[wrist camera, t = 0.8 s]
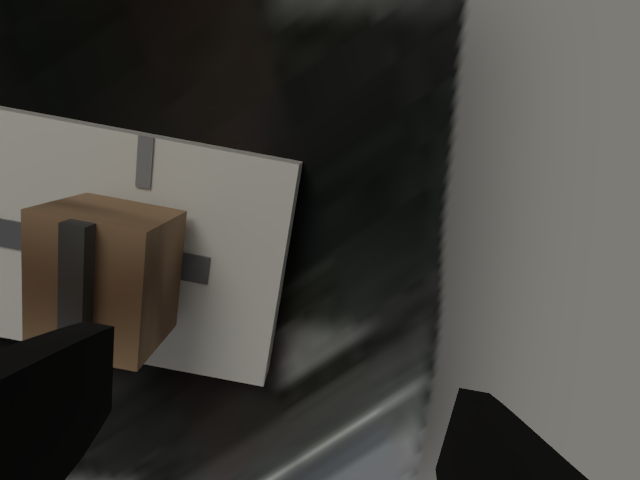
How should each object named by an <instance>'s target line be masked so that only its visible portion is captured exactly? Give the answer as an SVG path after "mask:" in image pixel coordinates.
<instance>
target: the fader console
mask: <svg viewBox="0 0 640 480" xmlns="http://www.w3.org/2000/svg"><path fill="white" fill-rule="evenodd" d="M302 164H303V162H302V161H296V160H291V159H286V158H280V157H275V156H269V155H264V154H258V153H253V152H248V151H242V150H237V149H231V148H226V147H220V146H215V145H210V144H204V143H199V142H193V141H188V140H182V139H177V138H172V137H166V136H161V135H155V134H150V133H144V132H139V131H134V130H128V129H123V128H117V127H112V126H107V125H101V124H96V123H90V122H85V121H79V120H74V119H69V118H63V117H58V116H52V115H47V114H41V113H36V112H31V111H25V110H20V109H14V108H9V107H3V106H0V337H3V338H8V339H13V340H18V341H23V338H22V267H21V209H23V208H27V207H31V206H35V205H39V204H43V203H47V202H51V201H55V200H59V199H63V198H67V197H71V196H75V195H79V194H83V193H93V194H98V195H103V196H109V197H114V198H120V199H125V200H130V201H136V202H141V203H147V204H152V205H157V206H163V207H168V208H173V209H179V210H184V211H187V217H186V228H185V238H184V249H183V260H182V270H181V281H180V292H179V302H178V313H177V324H176V326H175V328H174V329H173V330H172V331H171V332H170V334H169V335H168V336H167V337H166V338H165V339H164V341H163V342H162V343H161V344H160V345H159V347H158V348H157V349H156V350H155V351H154V352H153V354H152V355H151V356H150V357H149V358H148V360H147V361H146V362H145V363H144V364H146V365H151V366H156V367H161V368H167V369H172V370H177V371H183V372H188V373H193V374H199V375H204V376H209V377H214V378H220V379H225V380H230V381H236V382H241V383H246V384H252V385H257V386H262V387H263V386H264V383H265V380H266V377H267V373H268V370H269V366H270V360H271V354H272V348H273V341H274V335H275V329H276V323H277V317H278V311H279V305H280V299H281V293H282V286H283V280H284V274H285V268H286V262H287V256H288V250H289V244H290V238H291V231H292V225H293V219H294V213H295V207H296V201H297V195H298V189H299V183H300V177H301V170H302Z"/></svg>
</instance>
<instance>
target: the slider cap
mask: <svg viewBox="0 0 640 480" xmlns="http://www.w3.org/2000/svg"><path fill="white" fill-rule="evenodd" d="M186 217H187V211H184V210H179V209H173V208H168V207H163V206H157V205H152V204H147V203H141V202H136V201H130V200H125V199H120V198H114V197H109V196H103V195H98V194H93V193H83V194H79V195H75V196H71V197H67V198H63V199H59V200H55V201H51V202H47V203H43V204H39V205H35V206H31V207H27V208H23V209H21V267H22V338H23V340H26V339H29V338H32V337H35V336H38V335H41V334H44V333H47V332H50V331H53V330H56V329H59V328H63V327H66V326H69V325H73V324H77V323H81V322H85V321H87V322H92V323H98V324H104V325H109V326H115V328H114V354H113V368H119V369H124V370H129V371H135V372H137V371H138V370H139V369H140V368H141V367H142V365H143V364H144V363H145V362H146V361H147V360H148V358H149V357H150V356H151V355H152V354H153V352H154V351H155V350H156V349H157V348H158V347H159V345H160V344H161V343H162V342H163V341H164V339H165V338H166V337H167V336H168V335H169V334H170V332H171V331H172V330H173V329H174V328H175V326H176V324H177V313H178V302H179V292H180V281H181V270H182V260H183V249H184V238H185V228H186Z"/></svg>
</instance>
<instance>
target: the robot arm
mask: <svg viewBox="0 0 640 480" xmlns="http://www.w3.org/2000/svg"><path fill="white" fill-rule="evenodd" d="M114 328H115V326H109V325H104V324H98V323H92V322H87V321H85V322H81V323H77V324H73V325H69V326H66V327H63V328H59V329H56V330H53V331H50V332H47V333H44V334H41V335H38V336H35V337H32V338H29V339H26V340H23V341H20V342H17V343H14V344H11V345H8V346H5V347H2V348H0V480H65V479H66V477H67V476H68V475H69V474H70V472H71V471H72V470H73V469H74V467H75V466H76V465H77V463H78V462H79V461H80V460H81V458H82V457H83V456H84V454H85V452H86V451H87V449H88V448H89V446H90V445H91V443H92V441H93V440H94V438H95V437H96V435H97V434H98V432H99V430H100V429H101V427H102V425H103V424H104V422H105V420H106V419H107V417H108V415H109V414H110V412H111V406H112V380H113V354H114ZM436 475H437V480H588V479H587V478H586V477H585V476H584V475H582V474H581V473H580V472H579V471H578V470H577V469H576V468H574V467H573V466H572V465H571V464H570V463H569V462H568V461H566V460H565V459H564V458H563V457H562V456H561V455H560V454H559V453H557V452H556V451H555V450H554V449H553V448H552V447H551V446H550V445H548V444H547V443H546V442H545V441H544V440H543V439H542V438H541V437H540V436H538V435H537V434H536V433H535V432H534V431H533V430H532V429H531V428H530V427H528V426H527V425H526V424H525V423H524V422H523V421H521V419H519V418H518V417H517V416H516V415H515V414H514V413H513V412H511V411H510V410H509V409H508V408H507V407H506V406H504V405H503V404H502V403H501V402H500V401H498V400H497V399H496V398H495V397H493V396H492V395H491V394H489V393H485V392H479V391H473V390H467V389H462V388H459V391H458V394H457V398H456V401H455V405H454V408H453V411H452V415H451V418H450V422H449V425H448V428H447V432H446V435H445V439H444V442H443V446H442V449H441V452H440V456H439V459H438V463H437V466H436Z"/></svg>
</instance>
